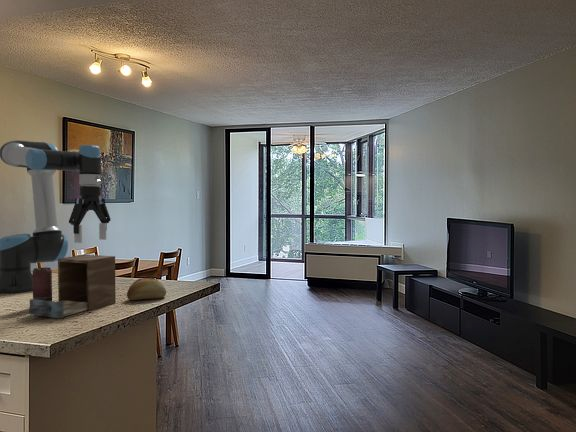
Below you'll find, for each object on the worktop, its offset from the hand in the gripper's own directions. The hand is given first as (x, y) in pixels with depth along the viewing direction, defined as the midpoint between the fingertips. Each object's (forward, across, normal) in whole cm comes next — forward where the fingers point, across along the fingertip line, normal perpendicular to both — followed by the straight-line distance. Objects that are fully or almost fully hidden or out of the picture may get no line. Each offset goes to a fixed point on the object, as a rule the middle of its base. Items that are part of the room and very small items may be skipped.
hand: (90, 241), depth 183 cm
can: (+23, -17, +7) cm, 29 cm away
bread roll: (+23, +7, -20) cm, 31 cm away
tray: (+22, -24, -6) cm, 33 cm away
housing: (+22, -10, -6) cm, 25 cm away
